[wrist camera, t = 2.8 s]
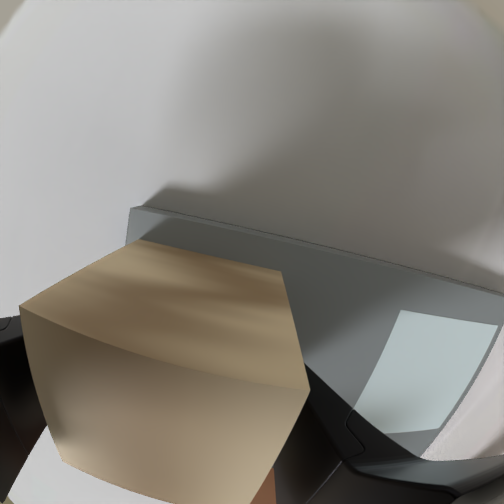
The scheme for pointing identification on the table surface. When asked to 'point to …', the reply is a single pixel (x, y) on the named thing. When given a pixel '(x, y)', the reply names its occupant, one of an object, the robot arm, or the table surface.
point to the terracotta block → (266, 491)
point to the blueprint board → (361, 321)
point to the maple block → (168, 372)
